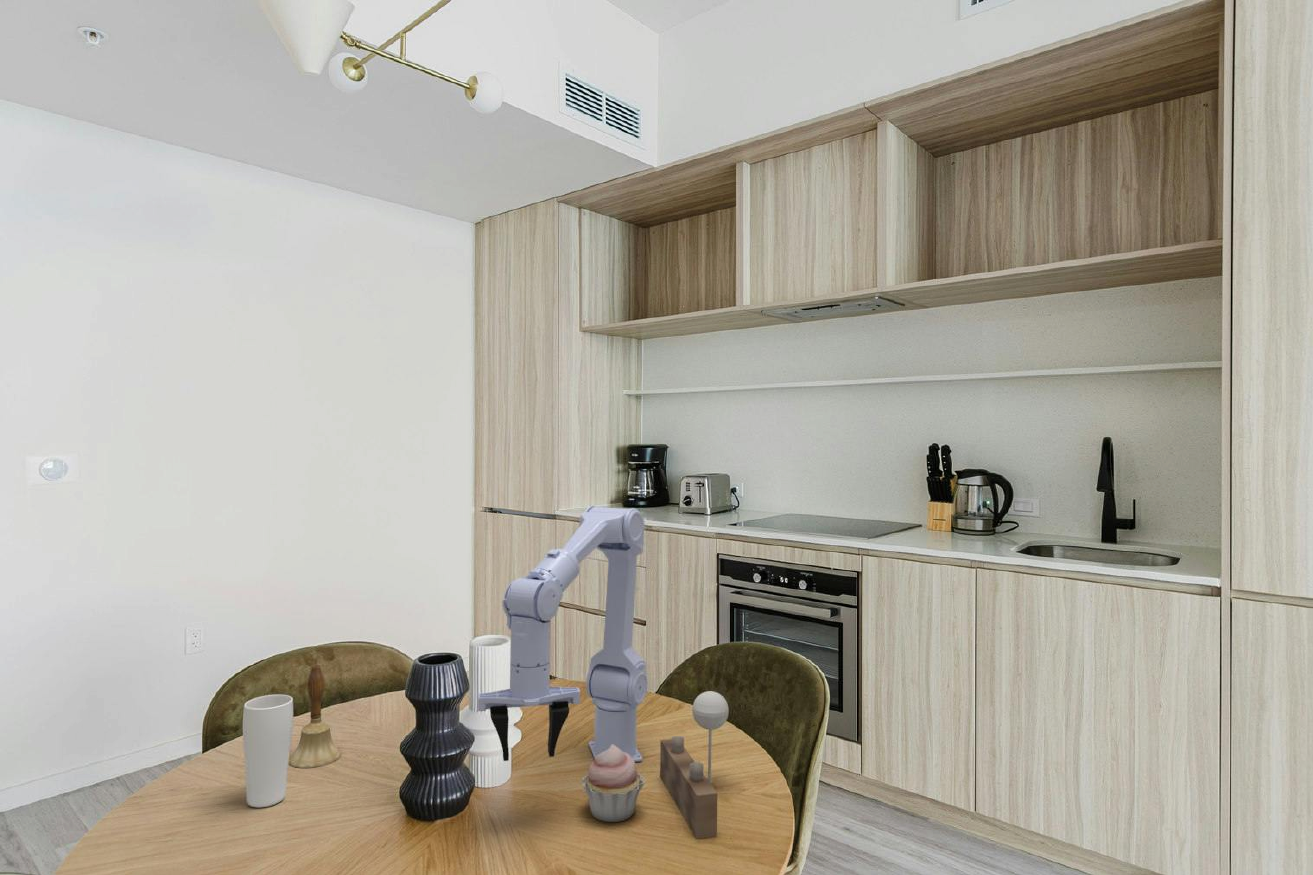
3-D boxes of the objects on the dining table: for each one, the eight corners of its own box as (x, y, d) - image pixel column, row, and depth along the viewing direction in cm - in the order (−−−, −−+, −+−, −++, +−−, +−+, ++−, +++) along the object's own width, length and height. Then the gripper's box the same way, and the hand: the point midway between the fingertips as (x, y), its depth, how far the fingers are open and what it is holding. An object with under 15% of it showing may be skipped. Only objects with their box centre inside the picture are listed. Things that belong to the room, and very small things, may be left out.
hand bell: (333, 767, 123) (335, 671, 123) (281, 769, 122) (283, 673, 122) (346, 747, 131) (348, 657, 131) (297, 749, 130) (299, 659, 130)
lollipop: (725, 796, 114) (726, 699, 115) (688, 792, 116) (689, 696, 116) (729, 778, 120) (730, 687, 121) (694, 775, 122) (695, 684, 122)
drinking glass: (301, 794, 113) (303, 697, 113) (264, 815, 106) (267, 711, 107) (267, 787, 115) (270, 691, 115) (229, 807, 109) (232, 705, 109)
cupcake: (629, 793, 115) (630, 729, 115) (653, 821, 106) (654, 752, 107) (572, 804, 111) (573, 737, 111) (592, 833, 103) (593, 762, 103)
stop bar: (659, 776, 121) (660, 727, 121) (677, 774, 122) (678, 726, 122) (696, 838, 102) (697, 781, 102) (716, 836, 102) (717, 778, 103)
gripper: (479, 673, 100) (477, 772, 100) (583, 666, 104) (582, 762, 104) (478, 658, 107) (476, 751, 107) (576, 653, 111) (575, 743, 111)
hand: (528, 756), depth 106 cm, fingers open, 6 cm apart
